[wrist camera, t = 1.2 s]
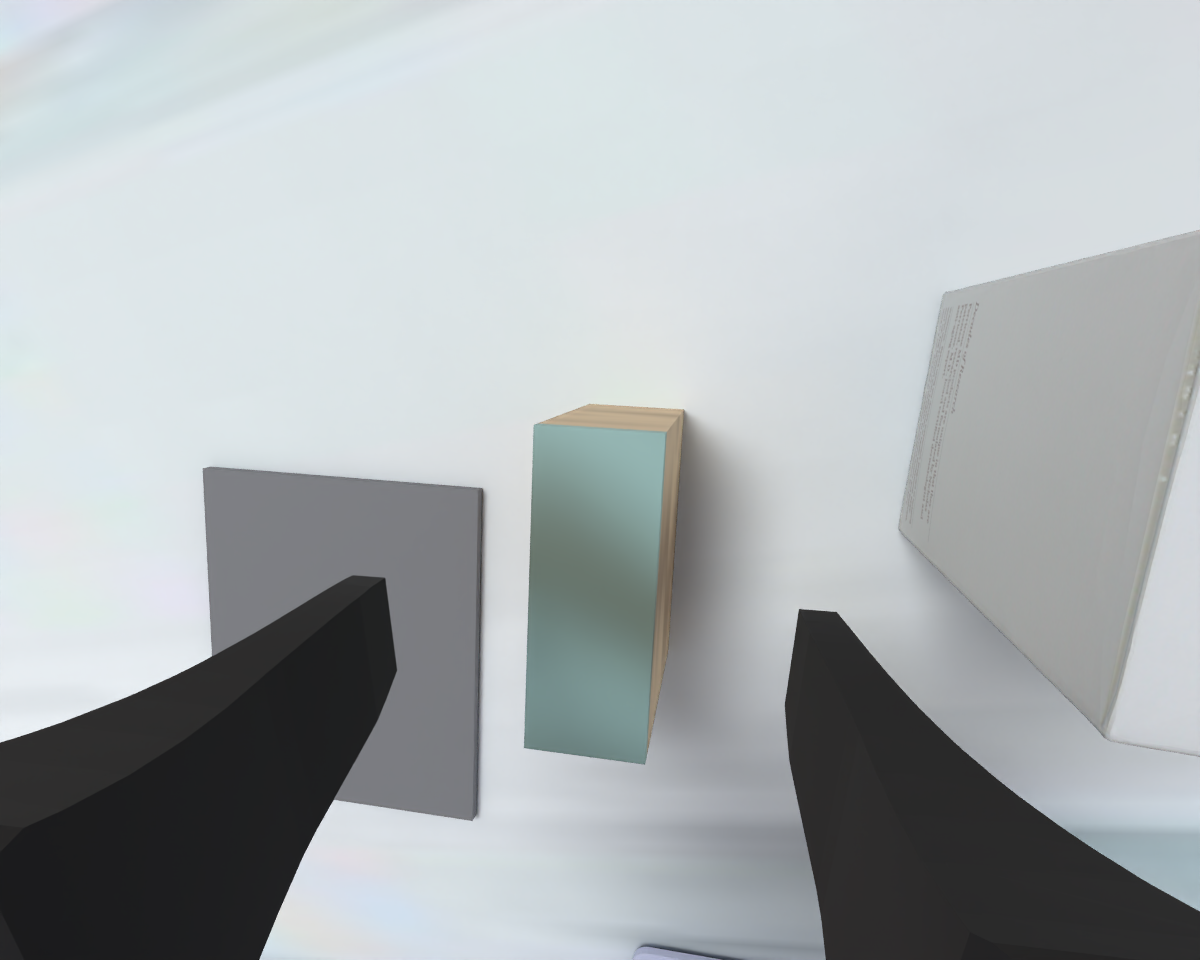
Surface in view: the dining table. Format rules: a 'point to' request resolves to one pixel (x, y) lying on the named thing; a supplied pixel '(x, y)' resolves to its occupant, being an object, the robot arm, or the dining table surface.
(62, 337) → the dining table surface
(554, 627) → the slab
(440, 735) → the mat
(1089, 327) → the supplement box
